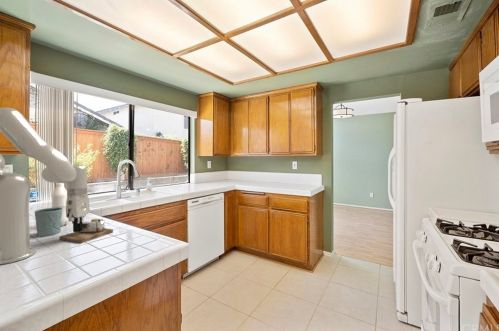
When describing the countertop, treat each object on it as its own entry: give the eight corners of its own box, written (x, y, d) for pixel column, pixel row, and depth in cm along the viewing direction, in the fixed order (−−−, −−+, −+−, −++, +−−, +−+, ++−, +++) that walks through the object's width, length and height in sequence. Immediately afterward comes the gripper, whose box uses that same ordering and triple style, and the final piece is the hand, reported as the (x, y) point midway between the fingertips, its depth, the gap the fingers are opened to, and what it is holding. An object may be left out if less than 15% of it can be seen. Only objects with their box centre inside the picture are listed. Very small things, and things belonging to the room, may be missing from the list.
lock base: (81, 243, 98) (80, 229, 97) (59, 239, 102) (59, 226, 102) (113, 232, 112) (112, 220, 112) (92, 229, 117) (92, 218, 116)
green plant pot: (29, 236, 107) (28, 211, 106) (53, 229, 117) (52, 206, 116) (46, 238, 104) (45, 212, 104) (68, 231, 114) (67, 207, 114)
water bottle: (59, 227, 120) (58, 181, 119) (48, 227, 121) (47, 180, 121) (72, 223, 127) (71, 179, 126) (62, 223, 128) (61, 179, 128)
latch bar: (106, 229, 111) (105, 218, 111) (101, 231, 107) (101, 220, 107) (81, 229, 110) (80, 219, 110) (75, 232, 106) (75, 221, 106)
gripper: (74, 194, 97) (75, 236, 98) (95, 189, 112) (95, 226, 112) (56, 194, 96) (57, 237, 97) (79, 190, 111) (79, 226, 112)
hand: (77, 231), depth 105 cm, fingers closed
